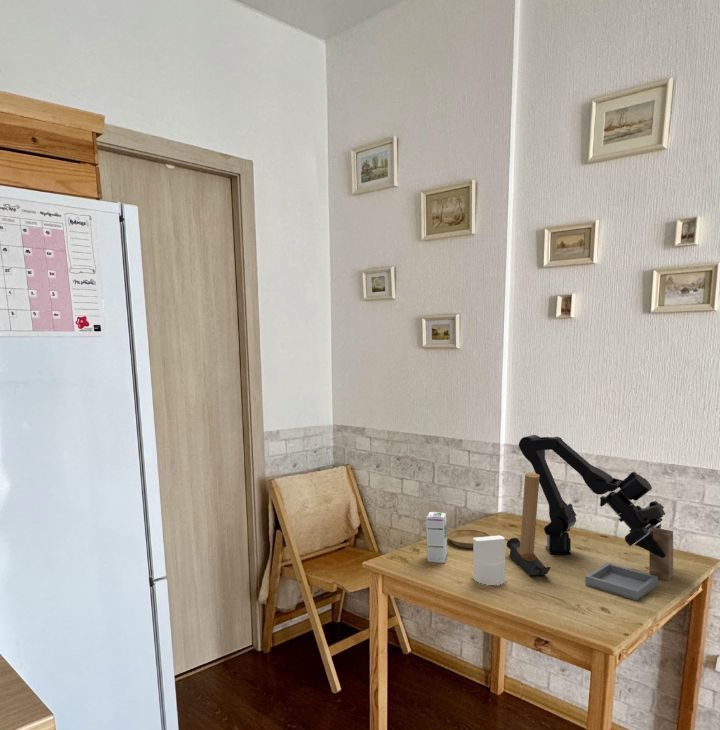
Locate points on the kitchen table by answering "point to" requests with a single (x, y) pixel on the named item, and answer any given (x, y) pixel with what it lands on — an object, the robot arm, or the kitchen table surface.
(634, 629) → the kitchen table surface
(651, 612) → the kitchen table surface
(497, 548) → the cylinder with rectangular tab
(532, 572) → the hammer
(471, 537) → the plant saucer
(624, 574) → the tray
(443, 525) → the syrup box
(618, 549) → the kitchen table surface
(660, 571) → the walnut block
